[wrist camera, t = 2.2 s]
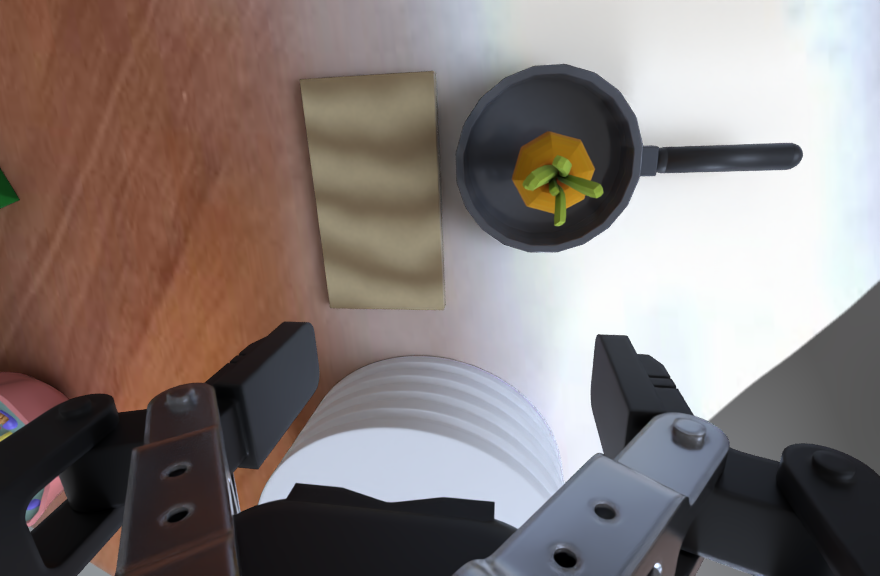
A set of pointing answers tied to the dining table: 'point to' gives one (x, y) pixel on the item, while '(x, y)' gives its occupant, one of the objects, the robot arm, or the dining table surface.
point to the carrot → (554, 174)
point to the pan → (527, 117)
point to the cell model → (16, 404)
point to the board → (377, 188)
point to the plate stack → (426, 439)
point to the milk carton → (6, 192)
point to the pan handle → (720, 158)
